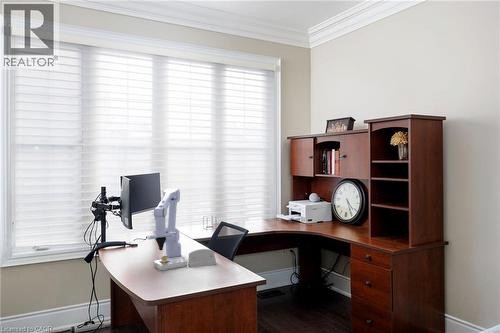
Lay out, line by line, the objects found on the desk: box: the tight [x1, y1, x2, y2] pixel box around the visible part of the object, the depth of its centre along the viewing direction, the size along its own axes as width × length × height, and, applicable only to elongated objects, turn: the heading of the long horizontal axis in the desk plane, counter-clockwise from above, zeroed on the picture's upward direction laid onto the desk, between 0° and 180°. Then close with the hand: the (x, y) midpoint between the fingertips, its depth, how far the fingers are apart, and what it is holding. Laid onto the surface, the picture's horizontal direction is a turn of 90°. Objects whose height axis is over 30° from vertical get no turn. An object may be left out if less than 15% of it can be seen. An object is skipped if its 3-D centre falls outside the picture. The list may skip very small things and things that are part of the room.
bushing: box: [159, 255, 168, 264], centre depth 215 cm, size 4×4×6 cm
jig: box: [153, 256, 188, 272], centre depth 217 cm, size 16×12×3 cm
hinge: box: [187, 248, 217, 268], centre depth 221 cm, size 17×5×10 cm, turn 110°
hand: (160, 249), depth 219 cm, fingers closed
